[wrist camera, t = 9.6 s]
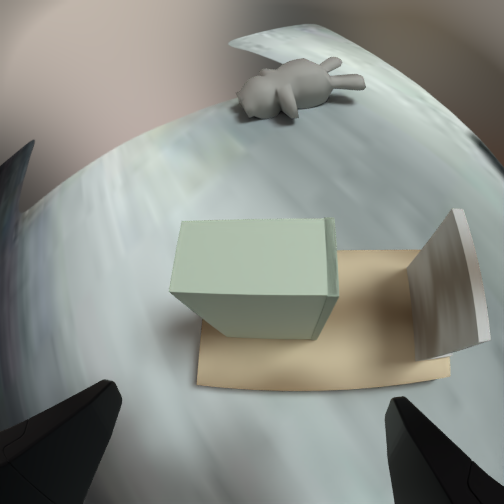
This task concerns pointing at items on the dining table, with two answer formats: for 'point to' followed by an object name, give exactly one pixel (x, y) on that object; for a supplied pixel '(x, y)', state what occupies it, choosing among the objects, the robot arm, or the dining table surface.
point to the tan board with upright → (370, 323)
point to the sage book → (258, 275)
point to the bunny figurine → (294, 87)
